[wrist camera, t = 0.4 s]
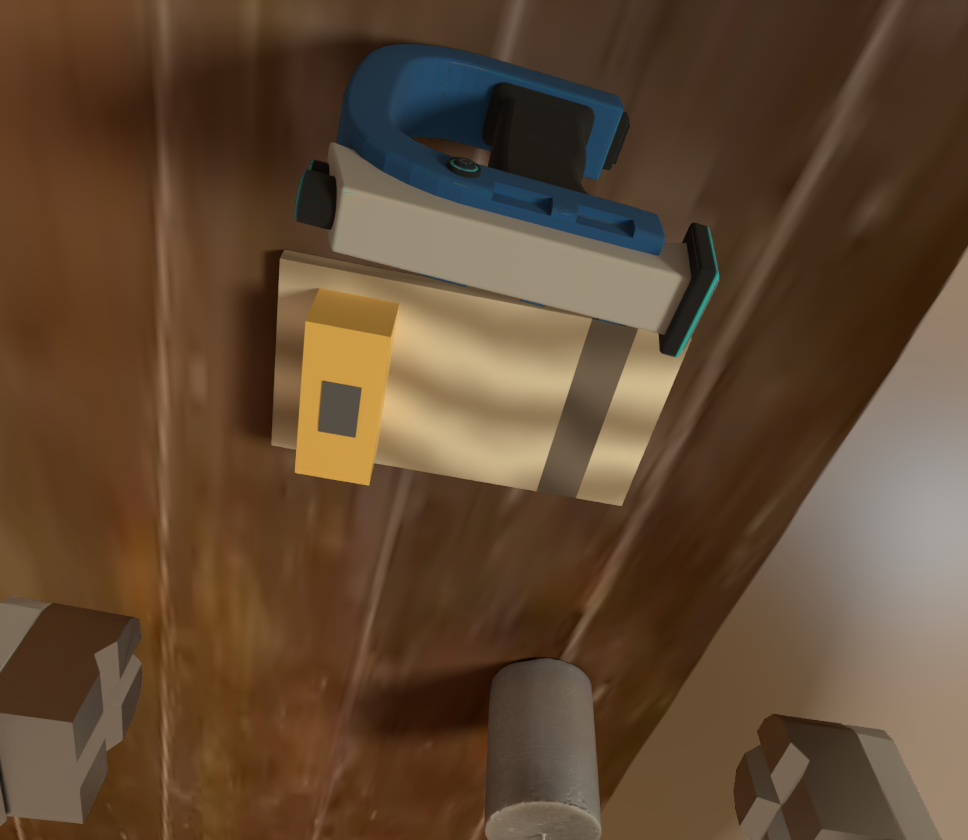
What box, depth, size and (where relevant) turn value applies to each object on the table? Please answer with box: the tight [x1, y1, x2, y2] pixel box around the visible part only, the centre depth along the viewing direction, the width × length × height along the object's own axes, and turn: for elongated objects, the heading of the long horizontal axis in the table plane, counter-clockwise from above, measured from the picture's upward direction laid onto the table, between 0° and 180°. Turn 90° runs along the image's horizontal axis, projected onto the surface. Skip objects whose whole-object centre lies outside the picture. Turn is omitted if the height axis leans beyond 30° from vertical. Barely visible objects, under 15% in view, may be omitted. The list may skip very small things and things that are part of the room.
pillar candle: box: [484, 658, 601, 840], centre depth 71 cm, size 10×10×15 cm
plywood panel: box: [271, 250, 692, 506], centre depth 55 cm, size 15×26×1 cm, turn 79°
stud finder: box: [295, 288, 399, 485], centre depth 52 cm, size 12×5×4 cm, turn 169°
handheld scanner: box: [295, 44, 719, 357], centre depth 36 cm, size 4×16×19 cm, turn 75°
